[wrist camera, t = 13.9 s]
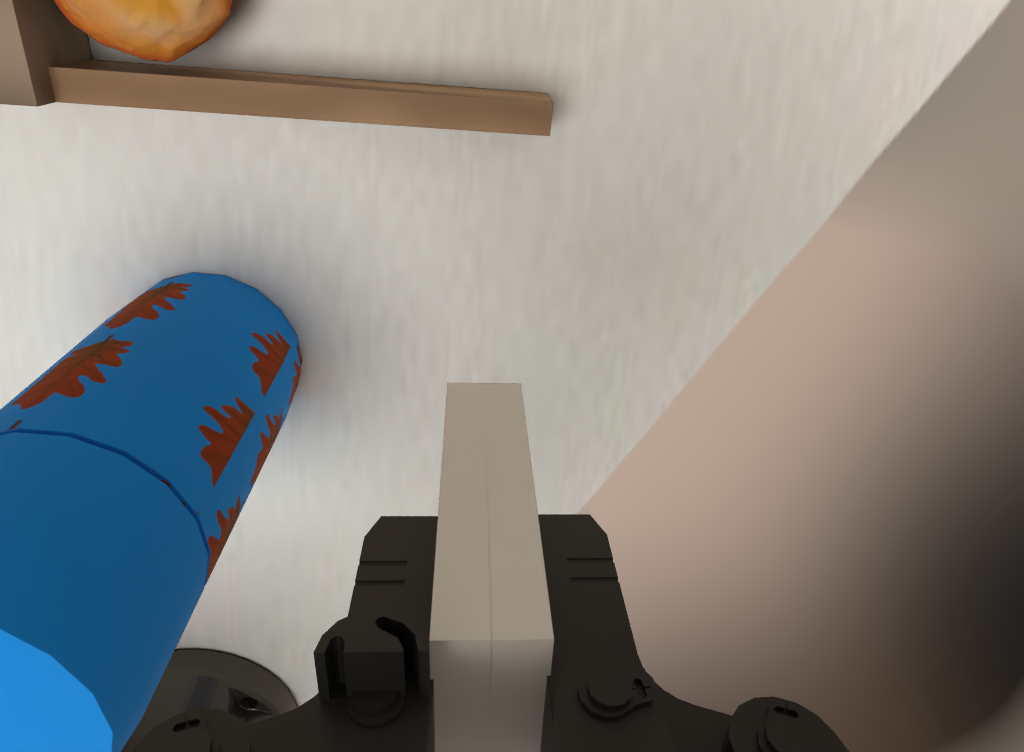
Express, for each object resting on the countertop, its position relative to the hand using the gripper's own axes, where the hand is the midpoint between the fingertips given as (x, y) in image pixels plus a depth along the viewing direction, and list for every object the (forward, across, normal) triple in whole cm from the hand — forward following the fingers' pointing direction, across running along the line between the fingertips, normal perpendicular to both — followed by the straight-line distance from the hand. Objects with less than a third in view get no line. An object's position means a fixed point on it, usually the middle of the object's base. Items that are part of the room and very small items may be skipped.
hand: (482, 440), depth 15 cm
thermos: (+27, +16, +11) cm, 34 cm away
